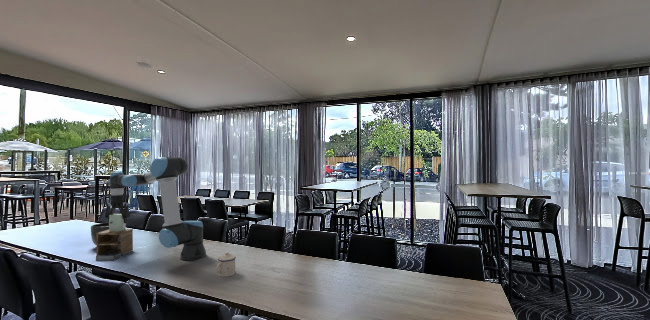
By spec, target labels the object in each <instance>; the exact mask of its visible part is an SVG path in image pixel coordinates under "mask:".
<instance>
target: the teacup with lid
mask: <svg viewBox="0 0 650 320" xmlns="http://www.w3.org/2000/svg"><path fill="white" fill-rule="evenodd" d="M217 260H218V264H217V265H216V267H215V271H216V272H217V274H218V276H219V277H223V278H228V277H231V276H233V275H235V274H236V255H234V254H231V253H230V252H229V251H227V252H224V254H222V255H220V256H219V257H218V259H217Z"/></svg>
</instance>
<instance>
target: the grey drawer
mask: <svg viewBox="0 0 650 320" xmlns="http://www.w3.org/2000/svg"><path fill="white" fill-rule="evenodd" d="M118 243H121V237H118ZM118 251H121V245H118ZM122 257H124V255H123V252H105V253H102V254H100V255H98V256H97V255H96V256H95V261H96V262H97V261H99V262H100V261H101V262H102V261H107V262H108V261H115V260H118V259H120V258H122Z"/></svg>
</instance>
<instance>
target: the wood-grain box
mask: <svg viewBox="0 0 650 320" xmlns="http://www.w3.org/2000/svg"><path fill="white" fill-rule="evenodd" d="M133 235H134V234H133V228H125V230H124V231H110V229H108V230H105V231H102V232H99V233H96V245H95V246H96V256H98V255H100V254H102V253H105V252H123V256H124V255H126V254H128V253H131V252H133V250H134V243H133V242H134V241H133V240H134V239H133V238H134V237H133ZM118 237H121V243H118ZM118 245H121V251H118Z"/></svg>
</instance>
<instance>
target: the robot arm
mask: <svg viewBox="0 0 650 320" xmlns="http://www.w3.org/2000/svg"><path fill="white" fill-rule="evenodd" d="M149 169H150V171H149V172H145V173H137V174H124V172H123V171H111V172H110V173H109V175H110V177H109V185H110V189H109V193H110V195H109V197H110V199H109V200H110V202H107V203H105V205H106V206H105V207H106V208H105V213H104V218H105V219H107V222H108V223H109V215H112V214H115V211H116V210H119V212H120V214H122V217H123V218H122V229H123V228H125V229H127V222H128V218H130V217H131V215H130V210H129V202H124V200H125V195H124V194H125V190H124V189H125V188H124V187H134V186H143V185H147V186H148V185H152V184H154V183H156V182H158V183H159V190H160V196H161V197H160V198H161V204H162V211H163V220H164V223H163V224H162V229H161V230H160V231H159V233H158V239H159V242H160V244H161V245H162V246H163V247H164V248H167V249H169V248H176V247H177V246H180V245H182V249H181V252H180V257H179V259H180V260H182V261H195V260H201V259H203V258H205V257H206V256H207V250H206V248H205V247H206V246H205V245H204V224H203V221H201V220H184V221H183V220H182V219H181V213H180V212H181V211H180V207H179V197H178V189H177V184H176V181H177V179H178V178H179V177H178V176H182V175H184V174H186V173H187V171H188V170H189V163H188V161H187V160H186V159H185V158H183V157H179V156H176V157H175V156H174V157H172V156H162V157H156V158H155V159H153V160H152V162H151V163H150V168H149ZM109 229H110V228H109Z"/></svg>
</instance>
